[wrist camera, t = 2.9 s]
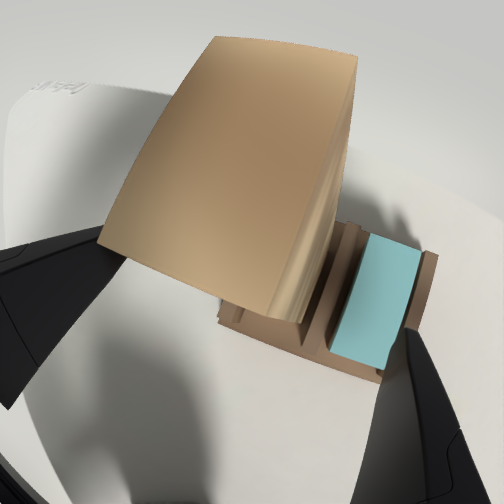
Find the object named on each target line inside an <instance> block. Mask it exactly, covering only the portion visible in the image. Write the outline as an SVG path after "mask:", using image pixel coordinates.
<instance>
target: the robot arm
mask: <svg viewBox="0 0 504 504" xmlns="http://www.w3.org/2000/svg"><path fill="white" fill-rule="evenodd" d="M103 226H104V225H102V226H97V227H93V228H89V229H84V230H80V231H76V232H72V233H68V234H63V235H59V236H55V237H51V238H47V239H43V240H40V241H36V242H32V243H30V244H29V243H28V244H24V245H20V246H16V247H13V248H9V249H4V250H0V403H2V405H3V406H4V407H5V408H6V409H7V410H9V409H10V408H11V406H12V405H13V404H14V402H15V401H16V399H17V398H18V396H19V395H20V394H21V392H22V391H23V389H24V388H25V387H26V385H27V384H28V382H29V381H30V380H31V378H32V377H33V376H34V374H35V373H36V372H37V370H38V369H39V367H40V366H41V365H42V363H43V362H44V361H45V359H46V358H47V357H48V356H49V354H50V353H51V352H52V350H53V349H54V348H55V347H56V345H57V344H58V343H59V342H60V340H61V339H62V338H63V337H64V335H65V334H66V333H67V332H68V330H69V329H70V328H71V327H72V325H73V324H74V323H75V322H76V321H77V319H78V318H79V317H80V316H81V315H82V313H83V312H84V311H85V310H86V309H87V307H88V306H89V305H90V304H91V303H92V302H93V300H94V299H95V298H96V297H97V296H98V295H99V293H100V292H101V291H102V290H103V289H104V288H105V287H106V285H107V284H108V283H109V282H110V280H111V279H112V278H113V276H114V275H115V274H116V272H117V271H118V269H119V268H120V267H121V265H122V264H123V263H124V261H125V260H126V259H127V257H126V256H123V255H121V254H119V253H117V252H115V251H113V250H111V249H109V248H106V247H104V246H102V245H100V244H98V243H97V240H98V238H99V236H100V233H101V231H102V229H103ZM0 503H1V504H49V503H48V502H47V501H46V500H45V499H44V498H43V497H41V496H40V495H39V494H38V493H37V492H36V491H35V490H34V489H33V488H32V487H31V486H30V485H29V484H28V483H27V482H26V481H25V480H24V479H23V478H22V477H21V476H20V475H19V474H18V472H17V471H16V470H15V469H14V468H13V467H12V466H11V465H10V464H9V462H8V461H7V460H6V459H5V458H4V457H3V455H2V454H1V453H0ZM350 504H491V502H490V499H489V497H488V494H487V492H486V489H485V487H484V485H483V482H482V480H481V477H480V475H479V473H478V471H477V468H476V466H475V463H474V461H473V459H472V456H471V454H470V451H469V448H468V446H467V443H466V441H465V438H464V435H463V432H462V430H461V429H460V425H459V422H458V420H457V417H456V415H455V412H454V410H453V407H452V405H451V402H450V400H449V397H448V395H447V393H446V390H445V388H444V386H443V383H442V381H441V379H440V377H439V374H438V372H437V370H436V368H435V366H434V363H433V361H432V359H431V357H430V355H429V353H428V351H427V349H426V347H425V344H424V342H423V340H422V338H421V336H420V334H419V332H418V331H417V330H415V329H412V328H409V327H404V328H403V329H402V331H401V332H400V334H399V335H398V337H397V338H396V340H395V341H394V343H393V344H392V346H391V348H390V351H389V355H388V359H387V362H386V366H385V370H384V373H383V377H382V381H381V384H380V387H379V391H378V394H377V398H376V403H375V408H374V413H373V418H372V423H371V427H370V432H369V436H368V441H367V445H366V449H365V453H364V457H363V461H362V465H361V468H360V472H359V476H358V479H357V483H356V486H355V489H354V493H353V496H352V499H351V502H350Z"/></svg>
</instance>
